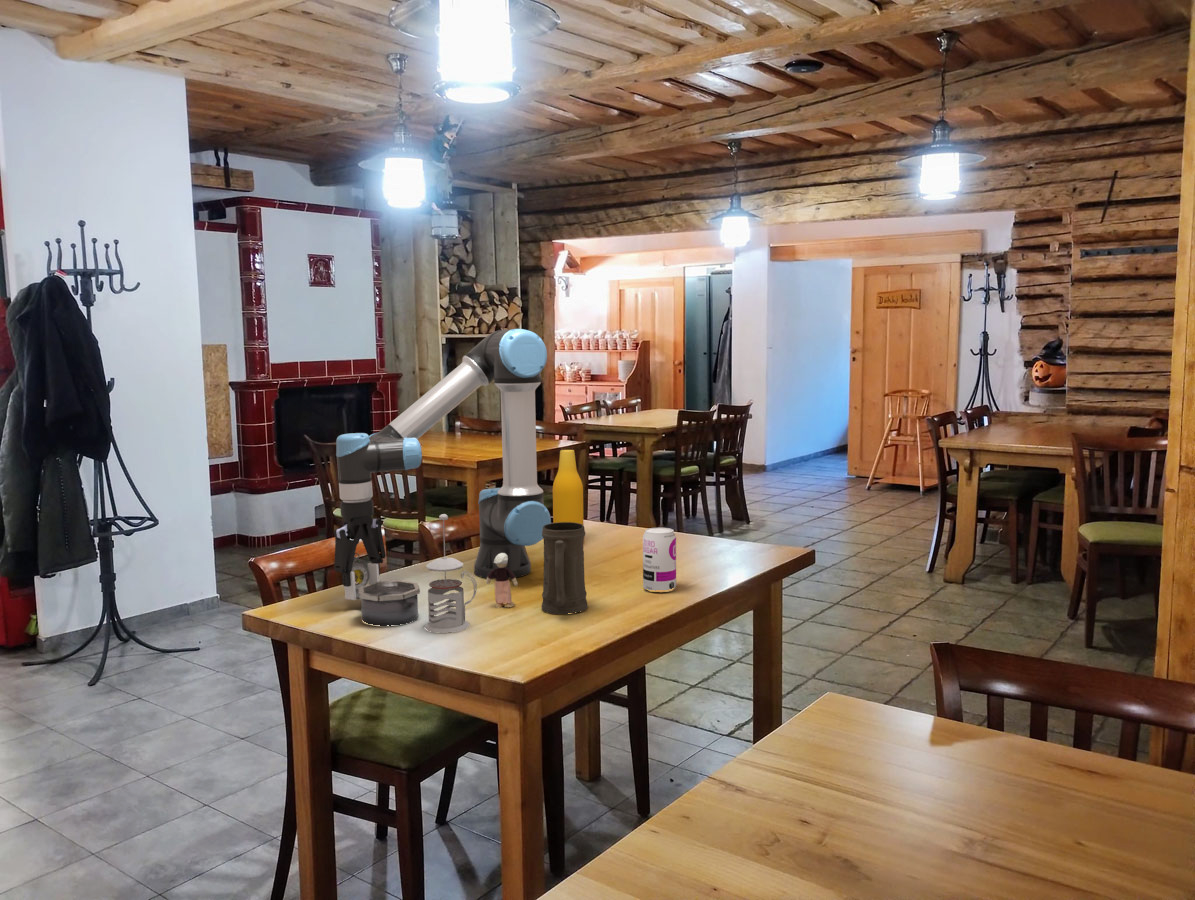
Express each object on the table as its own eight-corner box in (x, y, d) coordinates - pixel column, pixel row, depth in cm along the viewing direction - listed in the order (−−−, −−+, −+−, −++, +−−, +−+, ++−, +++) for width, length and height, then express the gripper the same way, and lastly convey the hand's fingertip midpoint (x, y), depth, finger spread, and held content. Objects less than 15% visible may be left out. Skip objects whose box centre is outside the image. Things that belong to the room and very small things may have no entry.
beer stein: (540, 601, 227) (539, 520, 224) (585, 600, 228) (584, 519, 225) (542, 625, 212) (541, 538, 209) (590, 623, 213) (589, 537, 210)
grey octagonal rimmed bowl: (417, 608, 224) (416, 578, 223) (422, 624, 211) (421, 593, 210) (359, 613, 220) (357, 583, 219) (361, 629, 207) (360, 598, 206)
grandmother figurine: (519, 603, 226) (517, 551, 225) (518, 608, 223) (517, 554, 221) (486, 604, 226) (485, 551, 225) (485, 608, 222) (483, 555, 221)
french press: (430, 619, 215) (427, 509, 212) (481, 620, 213) (478, 510, 211) (418, 632, 205) (414, 518, 202) (471, 633, 204) (468, 518, 201)
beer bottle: (583, 549, 284) (582, 452, 280) (552, 549, 284) (550, 452, 280) (584, 542, 293) (583, 448, 289) (554, 542, 293) (552, 449, 290)
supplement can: (679, 586, 240) (679, 528, 238) (671, 595, 232) (671, 534, 230) (648, 584, 243) (648, 526, 241) (639, 592, 235) (638, 532, 233)
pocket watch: (372, 601, 221) (369, 559, 220) (338, 600, 223) (335, 558, 222) (387, 591, 229) (384, 550, 228) (354, 590, 231) (351, 550, 230)
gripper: (374, 491, 234) (380, 582, 237) (312, 506, 216) (319, 604, 219) (397, 493, 230) (403, 585, 233) (337, 508, 213) (344, 607, 216)
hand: (362, 594), depth 226 cm, fingers closed on pocket watch, 7 cm apart
